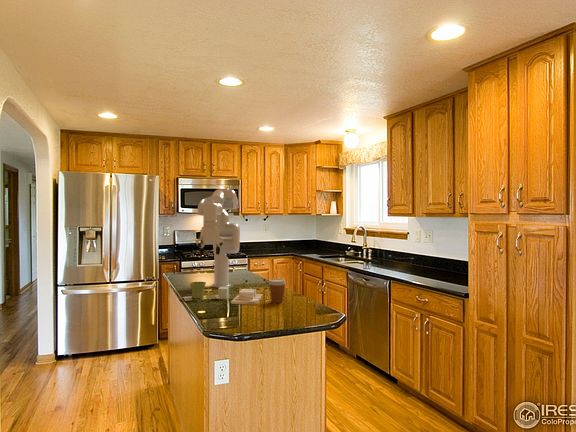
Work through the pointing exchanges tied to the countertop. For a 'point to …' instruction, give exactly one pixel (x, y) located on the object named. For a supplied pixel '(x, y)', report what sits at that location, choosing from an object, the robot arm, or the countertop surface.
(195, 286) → the plant pot
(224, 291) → the sage block
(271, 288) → the disposable coffee cup
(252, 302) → the stack base
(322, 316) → the countertop surface
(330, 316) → the countertop surface
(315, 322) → the countertop surface
